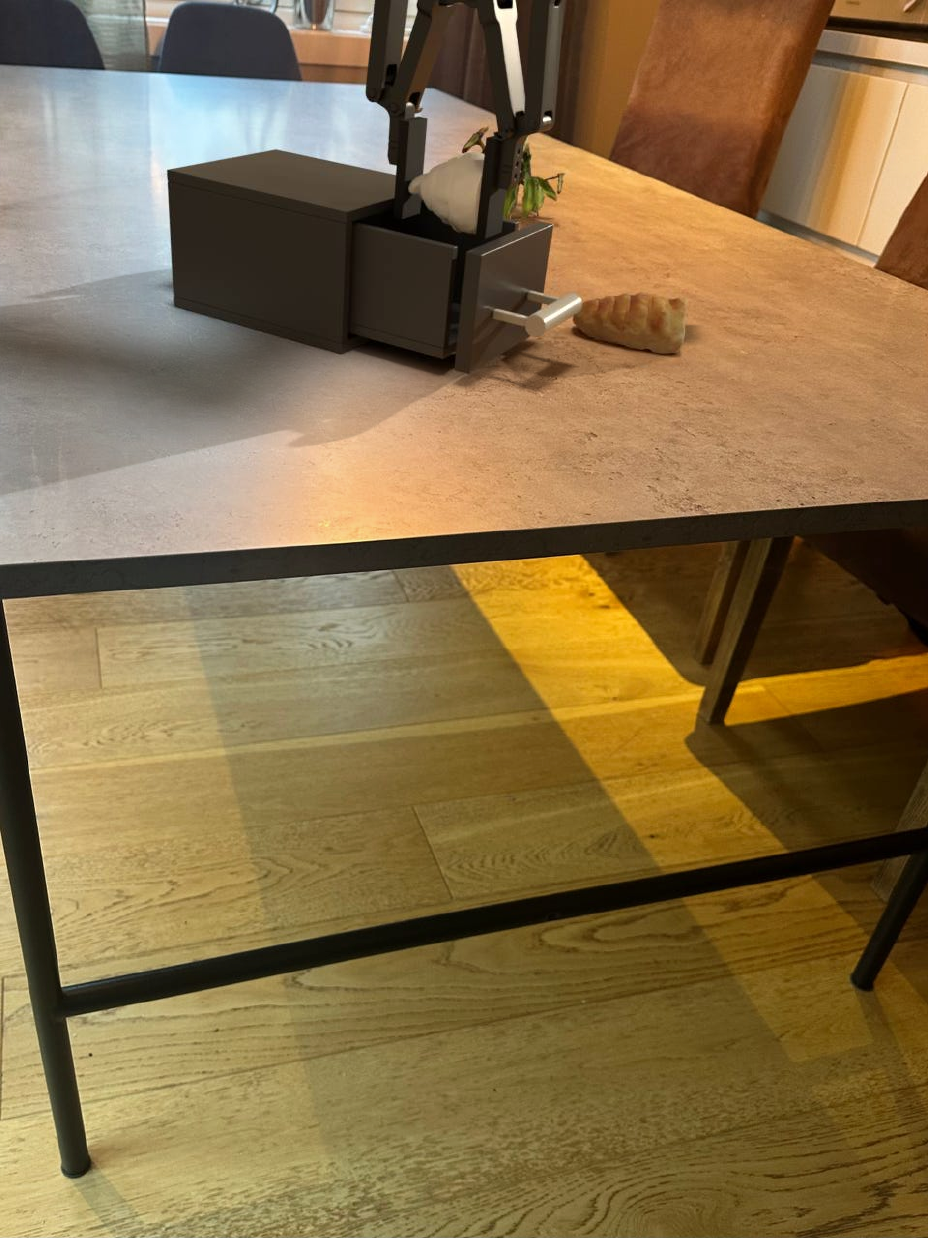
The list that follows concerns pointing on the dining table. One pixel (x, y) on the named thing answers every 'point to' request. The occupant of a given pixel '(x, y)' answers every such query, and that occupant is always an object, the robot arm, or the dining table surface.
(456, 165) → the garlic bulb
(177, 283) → the cabinet
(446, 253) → the drawer
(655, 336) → the pastry
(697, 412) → the dining table surface
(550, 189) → the passion flower
